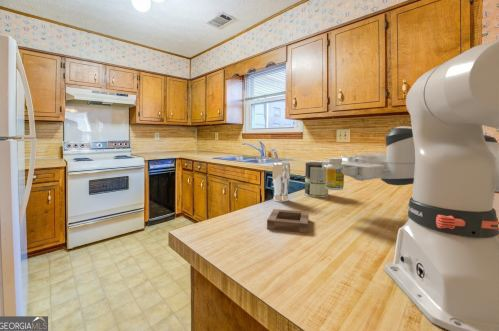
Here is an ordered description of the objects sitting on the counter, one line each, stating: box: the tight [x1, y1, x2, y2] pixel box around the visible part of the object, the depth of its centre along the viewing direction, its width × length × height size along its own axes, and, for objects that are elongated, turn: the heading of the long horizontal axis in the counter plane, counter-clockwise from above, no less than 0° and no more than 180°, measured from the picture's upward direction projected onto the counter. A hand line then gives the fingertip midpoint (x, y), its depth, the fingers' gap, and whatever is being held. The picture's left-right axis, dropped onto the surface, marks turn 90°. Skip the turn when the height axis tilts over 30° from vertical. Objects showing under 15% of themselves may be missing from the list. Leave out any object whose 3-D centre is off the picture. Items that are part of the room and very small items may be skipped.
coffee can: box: [304, 161, 329, 198], centre depth 110 cm, size 10×10×14 cm
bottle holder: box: [266, 208, 310, 234], centre depth 73 cm, size 11×11×2 cm
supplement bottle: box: [326, 157, 345, 191], centre depth 77 cm, size 5×5×10 cm
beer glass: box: [272, 162, 291, 203], centre depth 100 cm, size 7×7×15 cm
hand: (332, 169), depth 76 cm, fingers closed on supplement bottle, 5 cm apart
